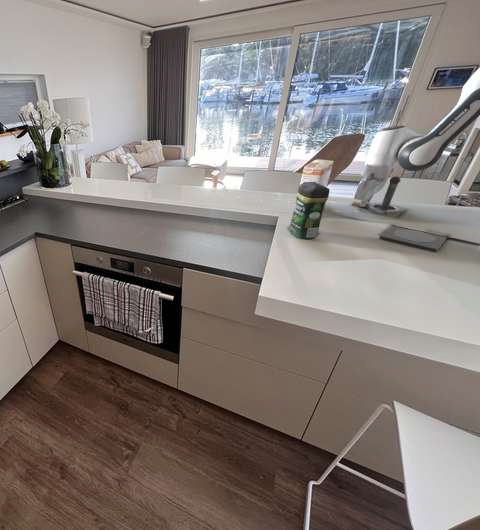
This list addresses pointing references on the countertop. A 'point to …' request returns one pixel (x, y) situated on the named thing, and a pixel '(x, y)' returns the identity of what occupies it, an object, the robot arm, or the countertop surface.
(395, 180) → the post
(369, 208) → the steel loop
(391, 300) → the countertop surface
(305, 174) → the coffeecake box
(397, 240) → the hob plate
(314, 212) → the coffee jar
